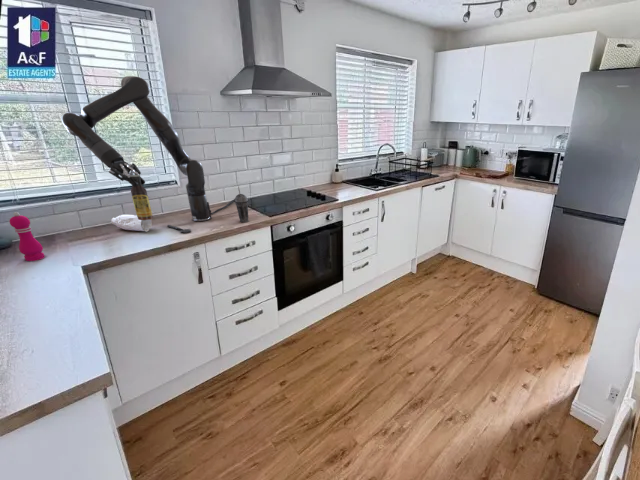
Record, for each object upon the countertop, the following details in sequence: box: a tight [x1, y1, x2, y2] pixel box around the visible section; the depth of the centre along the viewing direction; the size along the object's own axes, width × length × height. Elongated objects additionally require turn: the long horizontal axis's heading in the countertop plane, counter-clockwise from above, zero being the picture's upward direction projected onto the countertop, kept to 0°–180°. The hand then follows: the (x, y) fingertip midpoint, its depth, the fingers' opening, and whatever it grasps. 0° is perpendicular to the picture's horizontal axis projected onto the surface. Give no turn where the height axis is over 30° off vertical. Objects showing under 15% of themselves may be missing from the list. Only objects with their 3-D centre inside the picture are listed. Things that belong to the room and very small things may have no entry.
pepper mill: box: [9, 211, 46, 262], centre depth 151 cm, size 7×7×20 cm
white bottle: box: [110, 214, 153, 232], centre depth 191 cm, size 8×19×8 cm, turn 82°
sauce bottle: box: [130, 174, 153, 220], centre depth 168 cm, size 7×6×20 cm
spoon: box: [167, 224, 192, 235], centre depth 195 cm, size 5×18×1 cm, turn 60°
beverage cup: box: [234, 186, 249, 223], centre depth 208 cm, size 7×7×20 cm
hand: (140, 184), depth 165 cm, fingers closed on sauce bottle, 4 cm apart
